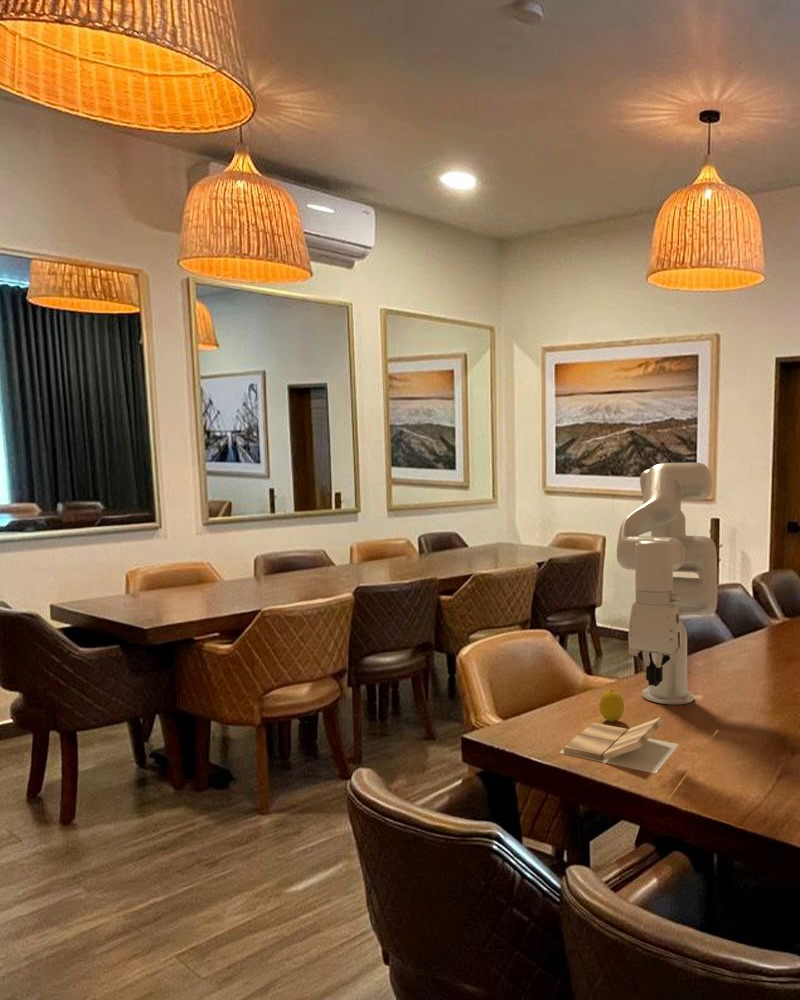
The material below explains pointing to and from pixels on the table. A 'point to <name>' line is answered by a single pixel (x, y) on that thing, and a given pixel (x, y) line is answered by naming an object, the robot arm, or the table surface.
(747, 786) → the table surface
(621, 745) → the plank near
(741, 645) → the table surface
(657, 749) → the underlay mat
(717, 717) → the table surface
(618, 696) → the lemon
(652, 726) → the plank far
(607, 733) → the row
